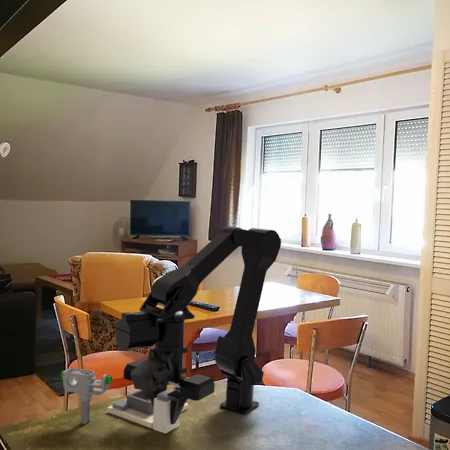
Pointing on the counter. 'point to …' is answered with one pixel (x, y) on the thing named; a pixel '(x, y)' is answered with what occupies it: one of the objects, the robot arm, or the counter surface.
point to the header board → (136, 408)
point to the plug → (163, 413)
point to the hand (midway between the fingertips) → (166, 421)
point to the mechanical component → (84, 387)
